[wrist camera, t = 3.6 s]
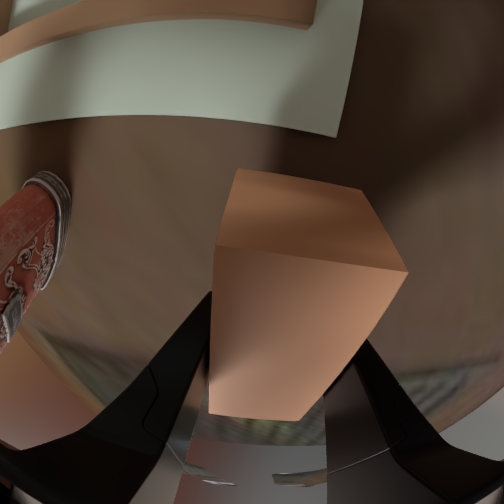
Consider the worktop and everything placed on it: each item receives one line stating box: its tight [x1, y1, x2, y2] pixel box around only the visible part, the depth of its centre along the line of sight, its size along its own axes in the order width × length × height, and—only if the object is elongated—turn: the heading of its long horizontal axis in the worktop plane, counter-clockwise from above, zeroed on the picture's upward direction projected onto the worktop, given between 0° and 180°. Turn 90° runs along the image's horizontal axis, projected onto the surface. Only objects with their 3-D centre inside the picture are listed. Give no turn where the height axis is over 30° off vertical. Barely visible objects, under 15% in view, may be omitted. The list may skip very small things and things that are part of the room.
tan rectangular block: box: [209, 168, 408, 421], centre depth 8 cm, size 4×8×4 cm, turn 173°
